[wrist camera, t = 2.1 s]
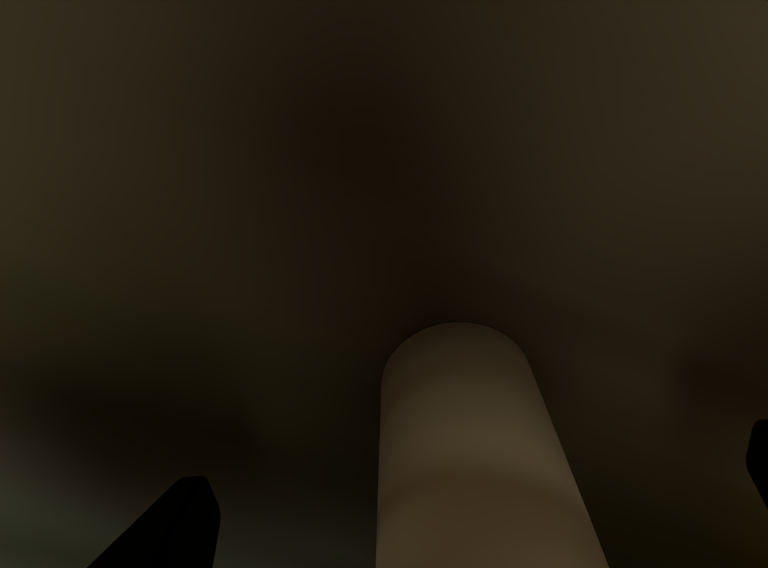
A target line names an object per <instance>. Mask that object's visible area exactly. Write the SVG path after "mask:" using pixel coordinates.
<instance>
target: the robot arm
mask: <svg viewBox="0 0 768 568" xmlns="http://www.w3.org/2000/svg"><path fill="white" fill-rule="evenodd" d="M746 465H747V469H748V472H749V474H750V476H751V478H752V480H753V482H754V484H755V486H756V488H757V489H758V491H759V493H760V495H761V497H762V499H763V501H764V503H765V505H766V507H767V509H768V419H762V420H758V421H756V422H755V423H754V424H753V427H752V431H751V436H750V440H749V445H748V450H747V454H746ZM219 526H220V509H219V506H218V503H217V501H216V498H215V496H214V494H213V491H212V489H211V486H210V484H209V482H208V480H207V478H205V477H204V476H192V477H183V478H181V479H179V480H178V481H176V482H175V483H174V484H173V485H172V486H171V487H170V488H169V489H168V490H167V491H166V492H165V493H164V494H163V495H162V496H161V497H160V498H159V499H158V500H157V501H156V502H155V503H154V504H153V505H151V506H150V507H149V508H148V509H147V510H146V511H145V512H144V513H143V514H142V515H141V516H140V517H139V518H138V519H137V520H136V521H135V522H134V523H133V524H132V525H131V526H130V527H129V528H128V529H127V530H126V531H125V532H123V533H122V534H121V535H120V536H119V537H118V538H117V539H116V540H115V541H114V542H113V543H112V544H111V545H110V546H109V547H108V548H107V549H106V550H105V551H104V552H103V553H102V554H101V555H100V556H99V557H98V558H97V559H95V560H94V561H93V562H92V563H91V564H90V565H89V566H88V567H87V568H212V567H213V561H214V556H215V550H216V544H217V538H218V532H219Z"/></svg>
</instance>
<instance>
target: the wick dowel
mask: <svg viewBox="0 0 768 568" xmlns="http://www.w3.org/2000/svg"><path fill="white" fill-rule="evenodd" d="M376 568H609V566H608V563H607V561H606V558H605V556H604V553H603V551H602V548H601V546H600V543H599V540H598V538H597V535H596V533H595V530H594V528H593V525H592V523H591V520H590V518H589V515H588V512H587V510H586V507H585V505H584V502H583V500H582V497H581V495H580V492H579V490H578V487H577V485H576V482H575V479H574V477H573V474H572V472H571V469H570V467H569V464H568V462H567V459H566V457H565V454H564V451H563V449H562V446H561V444H560V441H559V439H558V436H557V434H556V431H555V429H554V426H553V423H552V421H551V418H550V416H549V413H548V411H547V408H546V406H545V403H544V401H543V398H542V395H541V393H540V390H539V388H538V385H537V383H536V380H535V378H534V375H533V373H532V370H531V367H530V365H529V362H528V360H527V358H526V356H525V354H524V352H523V351H522V350H521V348H520V347H519V346H518V345H517V344H516V343H515V342H514V341H513V340H512V339H511V338H509V337H508V336H506V335H505V334H503V333H502V332H500V331H498V330H496V329H493V328H491V327H488V326H485V325H481V324H477V323H469V322H452V323H444V324H439V325H435V326H432V327H429V328H426V329H424V330H422V331H419V332H417V333H415V334H414V335H412V336H411V337H409V338H408V339H406V340H405V341H404V342H403V343H401V344H400V345H399V346H398V347H397V349H396V350H395V351H394V352H393V353H392V355H391V356H390V358H389V359H388V361H387V363H386V365H385V368H384V371H383V375H382V381H381V410H380V443H379V476H378V509H377V542H376Z"/></svg>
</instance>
